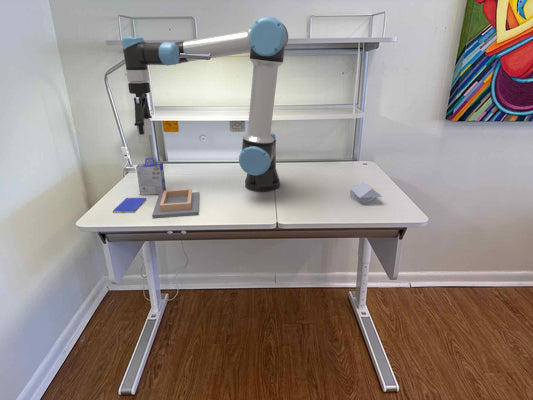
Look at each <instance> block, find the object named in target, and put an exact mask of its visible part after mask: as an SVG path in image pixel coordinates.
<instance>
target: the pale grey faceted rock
mask: <svg viewBox="0 0 533 400" xmlns="http://www.w3.org/2000/svg"><path fill="white" fill-rule="evenodd" d="M349 192H350V193H349V198H350V199H352V200H354V201H356V202H357V201H358V202H369V201H372V200H373V199H374V198H378V197H382V195H381V194H380V193H379V192H378V191H377V190H375V189H374V188H373V187H372V186H370V185H369V184H368V183H366V182H365V181H361V182H359V184H357V185H353V186H351V187H350V190H349Z"/></svg>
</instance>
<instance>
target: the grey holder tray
mask: <svg viewBox="0 0 533 400" xmlns="http://www.w3.org/2000/svg"><path fill="white" fill-rule="evenodd" d="M199 208H200V192H199V191H193V188H185V189H184V188H183V189H170V190H169V189H168V190H167V189H166V191H164V192H163V194H158V197H157V199H156V202H155V206H154V209H153V212H152V214H151V215H152V216H151V217H152V219H161V218H173V217H188V216H189V217H190V216H199V213H200V209H199Z"/></svg>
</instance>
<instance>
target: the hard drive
mask: <svg viewBox="0 0 533 400" xmlns="http://www.w3.org/2000/svg"><path fill="white" fill-rule="evenodd" d="M146 202H147V198H146V197H126V198H125V199H123V201H122V202H121V203H119V204H118V205H117V206H116V207H115V208H114V209H113V210H112V213H113V214H136V213H137V211H138V210H139V209H140V208H141V207H142V206H143V205H144V204H145V203H146Z"/></svg>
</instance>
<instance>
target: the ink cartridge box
mask: <svg viewBox="0 0 533 400" xmlns="http://www.w3.org/2000/svg"><path fill="white" fill-rule="evenodd" d="M149 160H150V161H149ZM135 169H136V176H137V183H138V189H139V195H141V196H146V195H148V196H149V195H160V194H163V192H164V191H166V190H167V185H166V178H165V170H164V169H165V168H164V163H163V162H155V158H154V157H145V160H144V163H139V164H137V166H136V167H135Z"/></svg>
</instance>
